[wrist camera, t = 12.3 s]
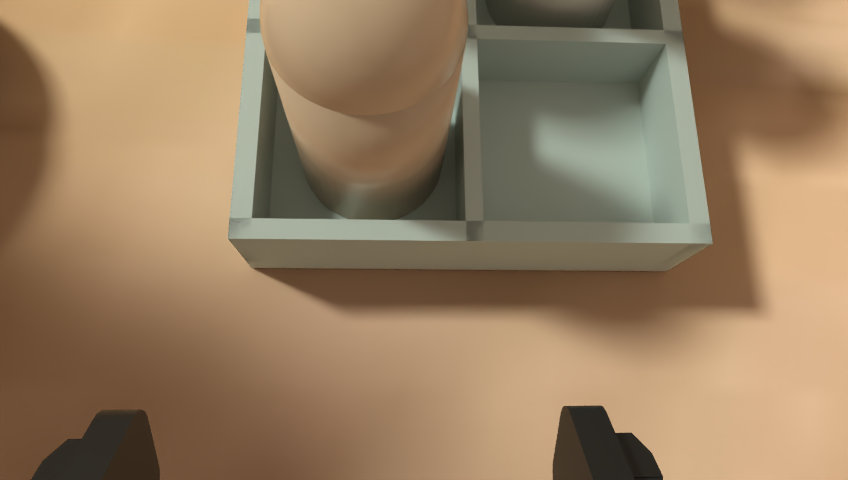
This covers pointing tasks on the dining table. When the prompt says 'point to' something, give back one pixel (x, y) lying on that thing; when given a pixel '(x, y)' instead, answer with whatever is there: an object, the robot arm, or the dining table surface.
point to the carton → (506, 159)
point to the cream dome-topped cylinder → (367, 95)
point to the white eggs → (550, 12)
